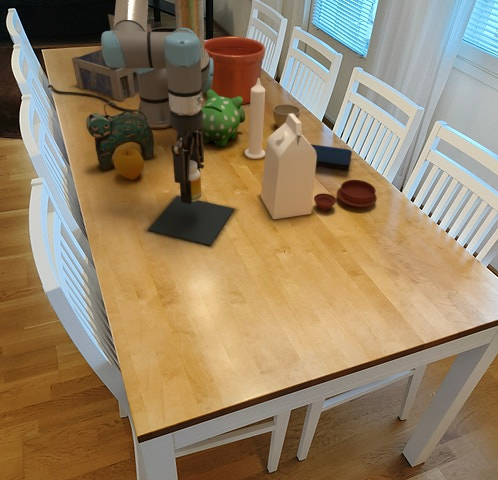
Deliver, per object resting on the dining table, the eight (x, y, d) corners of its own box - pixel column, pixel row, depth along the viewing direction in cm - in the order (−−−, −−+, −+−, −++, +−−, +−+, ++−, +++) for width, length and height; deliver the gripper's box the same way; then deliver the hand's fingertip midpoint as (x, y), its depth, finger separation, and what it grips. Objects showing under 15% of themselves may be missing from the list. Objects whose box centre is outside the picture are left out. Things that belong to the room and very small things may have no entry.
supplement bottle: (205, 194, 122) (203, 161, 116) (195, 204, 119) (193, 171, 112) (187, 189, 124) (185, 156, 117) (177, 199, 120) (174, 165, 114)
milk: (311, 213, 131) (324, 126, 113) (273, 219, 128) (281, 130, 110) (296, 191, 139) (307, 107, 121) (260, 196, 137) (265, 110, 119)
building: (120, 101, 183) (110, 38, 167) (78, 87, 192) (64, 26, 176) (158, 84, 198) (152, 24, 182) (117, 72, 207) (108, 14, 191)
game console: (350, 158, 156) (356, 132, 150) (347, 177, 147) (352, 150, 140) (305, 151, 159) (309, 125, 152) (299, 169, 149) (302, 143, 143)
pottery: (382, 208, 134) (386, 195, 131) (323, 221, 128) (326, 208, 125) (361, 188, 142) (364, 175, 139) (304, 199, 136) (306, 187, 133)
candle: (267, 151, 157) (273, 76, 140) (261, 160, 152) (266, 83, 135) (248, 147, 159) (251, 72, 141) (241, 156, 154) (243, 80, 137)
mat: (148, 231, 122) (147, 229, 122) (177, 196, 135) (177, 195, 134) (210, 246, 118) (210, 244, 118) (234, 209, 131) (234, 208, 131)
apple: (120, 168, 145) (115, 142, 139) (148, 170, 145) (145, 143, 139) (113, 183, 139) (108, 156, 132) (142, 185, 139) (138, 158, 132)
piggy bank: (249, 134, 166) (251, 92, 156) (224, 154, 155) (224, 110, 144) (216, 125, 171) (215, 83, 161) (189, 143, 159) (187, 100, 149)
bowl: (296, 135, 167) (298, 116, 162) (269, 132, 168) (271, 112, 163) (299, 124, 174) (302, 105, 169) (274, 120, 176) (275, 102, 171)
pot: (274, 98, 191) (278, 49, 178) (225, 111, 180) (225, 60, 167) (239, 80, 205) (240, 33, 192) (191, 91, 194) (189, 42, 181)
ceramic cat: (98, 173, 142) (85, 110, 129) (92, 164, 146) (78, 102, 133) (157, 159, 151) (151, 98, 137) (150, 151, 154) (142, 90, 141)
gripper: (184, 128, 98) (190, 218, 114) (216, 98, 111) (217, 182, 127) (152, 122, 100) (162, 211, 116) (187, 93, 112) (192, 177, 128)
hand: (191, 196), depth 121 cm, fingers closed on supplement bottle, 5 cm apart
